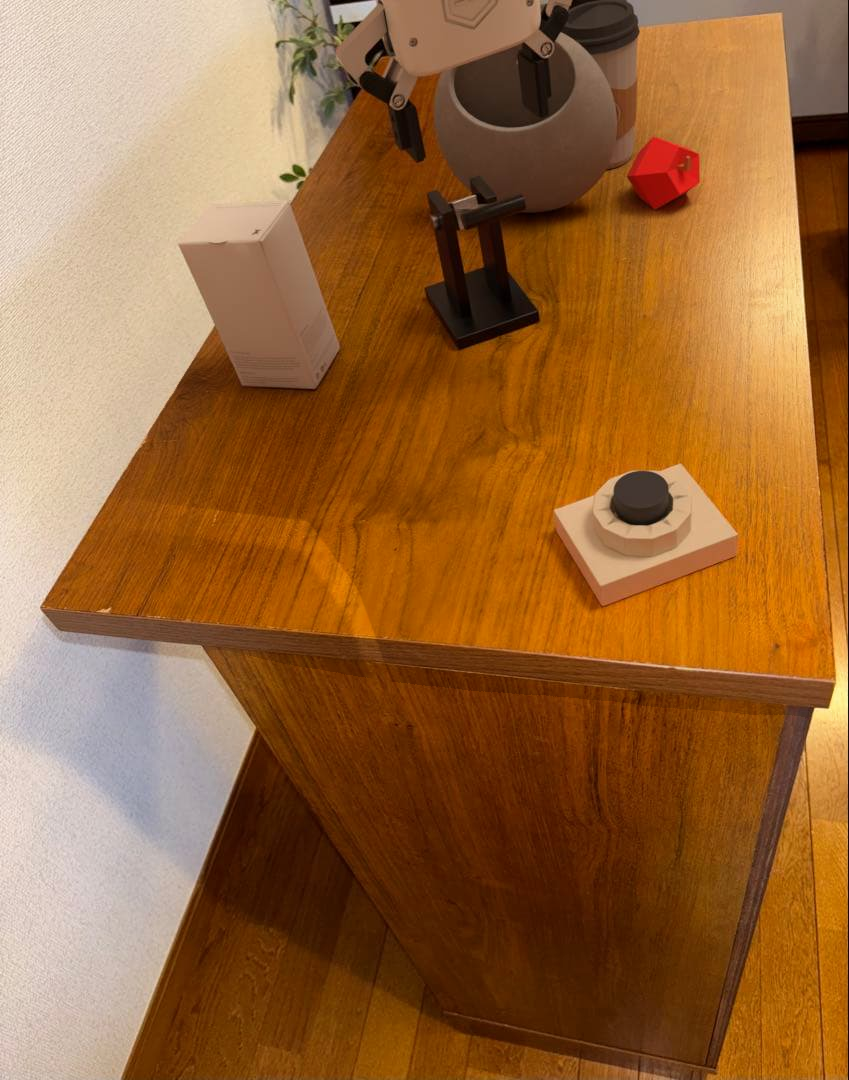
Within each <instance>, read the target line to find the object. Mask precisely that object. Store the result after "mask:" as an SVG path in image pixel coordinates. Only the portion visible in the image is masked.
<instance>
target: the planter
mask: <svg viewBox="0 0 849 1080" xmlns="http://www.w3.org/2000/svg"><path fill="white" fill-rule="evenodd" d="M519 49H522V43H521V44H519V45H517V46H514V47H511V48H509V49H506V50H503V51H500V52H498V53H495V54H492V55H489V56H486V57H483V58H481V59H478V60H475V61H472V62H469V63H466V64H463V65H460V66H458V67H455V68H452V69H449V70H446V71H443V72H440V74H439V79H438V81H437V85H436V88H435V95H434V101H433V125H434V131H435V136H436V140H437V143H438V146H439V149H440V152H441V154H442V156H443V159H444V160H445V162H446V164H447V165H448V167H449V169H450V170H451V172H452V173H453V175H454V176H455V177H456V179H457V180H458V181H459V183H461V184H462V186H464V187H465V188H466V189H467V190H468V191H469V192H471V187H470V181H469V179H470V178H473V177H476V176H480V177H481V178H482V179H483V180H484V181H485V183H486V184H487V185H488V186H489V187H490V188H491V190H492V191H493V192H494V193H495V194H496V195H497V200H498V201H499V200H502V199H505V198H508V197H511V196H514V195H517V194H520V193H521V194H522V195H523V197H524V199H525V203H526V210H524V211H521V212H520V213H524V214H535V213H536V214H537V213H545V212H551V211H554V210H557V209H560V208H564V207H565V206H568V205H570V204H572V203H574V202H575V201H577V200H579V199H580V198H582V197H583V196H585V195H586V194H587V193H589V191H590V190H592V189H593V188H594V187H595V185H596V184H597V183H599V181H600V180H601V178H602V177H603V175H604V174H605V172H606V170H608V169H607V167H608V165H609V162H610V160H611V157H612V154H613V151H614V147H615V142H616V135H617V114H616V108H615V103H614V98H613V95H612V92H611V89H610V86H609V84H608V81H607V79H606V77H605V75H604V73H603V72H602V70H601V68H600V67H599V65H598V64H597V63H596V61H595V60H594V59H593V57H592V56H591V55H590V54H589V53H588V52H587V51H586V50H585V49H584V48H583V47H582V46H581V45H580V44H579V43H577V42H576V41H575V40H573V39H572V38H570V37H569V36H567V35H565V34H563V33H561V32H560V34H559V36H558V37H557V39H556V41H555V42H554V52H553V54H552V55H551V56H550V57H548V61H549V71H550V82H551V93H552V94H551V97H550V98H547V99H548V109H549V115H548V116H546V117H544V118H540V117H537V116H536V115H535V114H533V113H532V112H531V111H530V110H528V109H527V108H526V107H524V105H523V102H522V94H521V86H520V77H519V69H518V60H517V54H519V52H518V50H519Z"/></svg>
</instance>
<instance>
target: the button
mask: <svg viewBox="0 0 849 1080" xmlns="http://www.w3.org/2000/svg"><path fill="white" fill-rule="evenodd" d="M650 471H651V470H648V471H635V472H631V473H628V474H626V475H624V476H622V477H621V478H620V479H619V480H618V481H617V482H616V484H615V486H614V504H615V512H616V514H617V516H618V517H619V518H620V519H621V520H622V521H624V522H625V523H628V524H630V525H641V526H647V525H651V524H654V523H657V522H658V521H660V520H661V519H663V518H664V517H665V515H666V514H667V512H668V510H669V487H668V484H667V482H666V480H665V479H664V478H663V477H662V476H660V475H659V474H657V473H654V472H650Z"/></svg>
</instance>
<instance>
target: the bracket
mask: <svg viewBox="0 0 849 1080" xmlns="http://www.w3.org/2000/svg"><path fill="white" fill-rule="evenodd" d="M469 181H470V187H471V191H470V193H471V195H476V197H477V201H478V204H479V205H482V204H490V203H493V202H496V201H498V200H497V195H496V194H495V193H494V192H493V191H492V190H491V188H490V187H489V186H488V185H487V184H486V183H485V181H484V180H483V179H482V178H481V177H480V176H476V177H473V178H470V179H469ZM426 197H427V202H428V207H429V212H430V215H429V221H430V225H431V228H432V230H433V232H434V237H435V242H436V246H437V252H438V257H439V263H440V266H441V271H442V277H443V280H441V281H439V282H436V283H433V284H430V285H428V286H425V287H424V293H425V294H424V295H425V298H426V299H427V301H428V303H429V305H430V306H431V307H432V309H433V311H434V313H435V314H436V316H437V317H438V318H439V320H440V322H441V323H442V325H443V327H444V329H445V330H446V332H447V333H448V335H449V336H450V339H452V341H453V343H454V344H455V346H456V348H457V349H458V350H462V349H466V348H468V347H470V346H473V345H476V344H479V343H482V342H485V341H488V340H491V339H493V338H497V337H500V336H502V335H506V334H508V333H510V332H514V331H516V330H519V329H522V328H525V327H528V326H530V325H534V324H536V323H539V322H540V321H541V320H540V311H539V309H538V308H537V307H536V306H535V304H534V303H533V302H532V300H531V299H530V298H529V297H528V295H527V294H526V293H525V291H524V290H523V289H522V287H521V286H520V285H519V284H518V282H517V281H516V280H515V278H514V277H513V276H512V274H511V273H510V272H509V270H508V262H507V257H506V249H505V244H504V237H503V230H502V223H501V219H498V220H495V221H492V222H489V223H486V224H483V225H480V226H477V227H476V229H477V234H478V239H479V246H480V251H481V252H480V253H481V258H482V263H483V266H482V267H480V268H477V269H473V270H471V271H467V272H465V269H464V263H463V259H462V252H461V248H460V242H459V237H458V230H456V225H455V220H454V214H453V210H452V209H451V207H450V206H449V205H448V202H447V201H446V199H445V197H443V195H442V194H441V193H440V191H439V190H438V189H434V190H431V191H428V192H426Z"/></svg>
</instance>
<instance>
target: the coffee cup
mask: <svg viewBox="0 0 849 1080" xmlns="http://www.w3.org/2000/svg"><path fill="white" fill-rule="evenodd" d="M634 10H635V9H634V6H633V4H632V3H630V2H628V1H625V0H598V1H593V2H588V3H585V4H581V5H578V6H576V7H573V8H571V9H570V10H568V14H569V17H568V20H567V22H566V24H565V26H564V27H563V29H562V31H561V33H563V34H565V35H567V36H569V37H570V38H572V39H573V40H575V41H576V42H577V43H579V44H580V45H581V46H582V47H583V48H584V49H585V50H586V51H587V52H588V53H589V54H590V55H591V56H592V57H593V59H594V60H595V61H596V63H597V64H598V65H599V67H600V68H601V70H602V72H603V73H604V75H605V77H606V79H607V81H608V84H609V86H610V89H611V92H612V95H613V98H614V103H615V108H616V114H617V135H616V142H615V147H614V151H613V154H612V157H611V160H610V162H609V165H608V167H607V169H606V170H612V169H615V168H618V167H621V166H623V165H624V164H626V163H628V162H629V161H630V160H631V158H632V156H633V153H634V151H635V143H636V142H635V139H636V121H637V108H638V107H637V106H638V105H637V103H638V102H637V100H638V75H637V73H638V71H637V70H638V41H639V40H638V39H639V38H638V37H639V35H640V33H641V31H640V27H639V19H638V15H636V14H635V11H634Z"/></svg>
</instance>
